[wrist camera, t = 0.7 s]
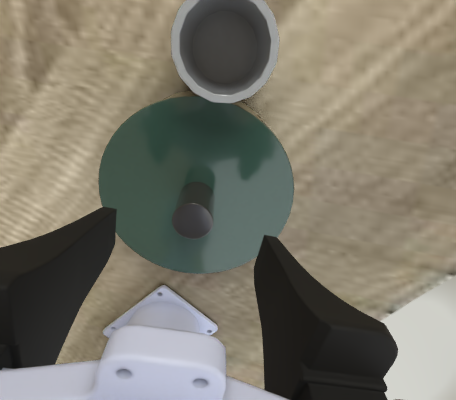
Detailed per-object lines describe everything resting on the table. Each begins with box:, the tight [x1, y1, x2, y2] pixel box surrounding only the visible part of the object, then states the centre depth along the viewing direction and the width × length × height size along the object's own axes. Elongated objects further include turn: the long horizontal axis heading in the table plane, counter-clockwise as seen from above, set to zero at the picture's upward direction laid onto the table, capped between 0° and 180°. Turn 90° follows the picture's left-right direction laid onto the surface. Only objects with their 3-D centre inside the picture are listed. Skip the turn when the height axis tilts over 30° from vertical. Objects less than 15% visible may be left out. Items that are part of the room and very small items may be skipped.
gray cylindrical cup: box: [171, 0, 280, 103], centre depth 17 cm, size 5×5×7 cm
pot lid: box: [99, 95, 294, 274], centre depth 19 cm, size 13×13×4 cm
